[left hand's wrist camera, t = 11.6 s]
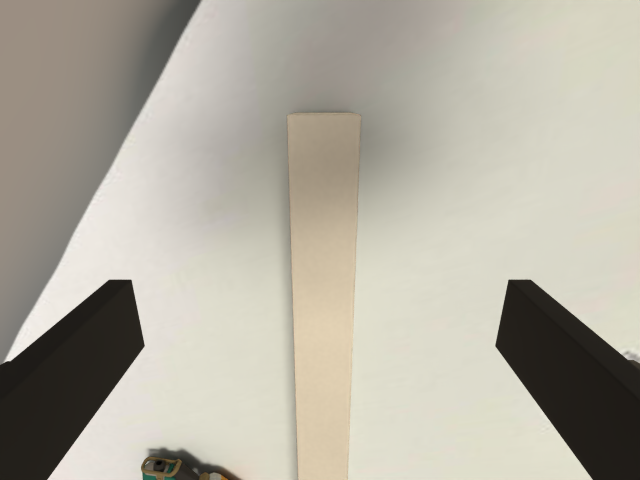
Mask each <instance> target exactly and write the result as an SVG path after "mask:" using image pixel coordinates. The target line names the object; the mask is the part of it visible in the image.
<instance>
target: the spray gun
mask: <svg viewBox="0 0 640 480" xmlns="http://www.w3.org/2000/svg"><path fill="white" fill-rule="evenodd" d="M149 460H153V461H155V463H153V462H151V463H148V464H146V463H147V461H149ZM169 463H171V464H170V466H169ZM145 464H146V465H145ZM174 464H176V465H175V466H174ZM141 470H142V472H143V480H228V479H226V478H225V477H223V476H222V475H220V474H219V473H215V472H213V473H211V474H208V473H206V472H204V473H202V474H201V475H200V476H198V475H197V474H196V473H195V472H194V471H193V470H191V469H190V468H189V467H187V466H186V465H185V464H184V463H182V461H181V460H180V459H177V460H170V459H164V458H158V457H148V458H146V459H145V460H144V462H143V464H142V466H141Z"/></svg>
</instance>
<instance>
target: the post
mask: <svg viewBox="0 0 640 480" xmlns="http://www.w3.org/2000/svg"><path fill="white" fill-rule="evenodd" d="M360 126H361V115H359V114H354V113H292V114H289V115H287V133H288V166H289V198H290V231H291V264H292V296H293V329H294V361H295V394H296V427H297V459H298V480H348V454H349V427H350V400H351V372H352V345H353V318H354V290H355V263H356V236H357V208H358V181H359V154H360Z"/></svg>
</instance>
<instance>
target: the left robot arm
mask: <svg viewBox="0 0 640 480" xmlns="http://www.w3.org/2000/svg"><path fill="white" fill-rule="evenodd" d="M144 346H145V345H144V340H143V335H142V330H141V325H140V320H139V315H138V310H137V305H136V300H135V295H134V290H133V285H132V280H108V281H107V282H106V283H105V284H104V285H102V286H101V287H100V288H99V289H98V290H96V291H95V292H94V293H93V294H91V295H90V296H89V297H88V298H87V299H85V300H84V301H83V302H82V303H81V304H79V305H78V306H77V307H76V308H75V309H73V310H72V311H71V312H70V313H68V314H67V315H66V316H65V317H64V318H62V319H61V320H60V321H59V322H58V323H56V324H55V325H54V326H53V327H52V328H50V329H49V330H48V331H47V332H45V333H44V334H43V335H42V336H41V337H39V338H38V339H37V340H36V341H35V342H33V343H32V344H31V345H30V346H29V347H27V348H26V349H25V350H24V351H22V352H21V353H20V354H19V355H18V356H16V357H15V358H14V359H13V360H12V361H7V362H5V363H3V364H1V365H0V480H47V479H48V478H49V476H50V475H51V474H52V472H53V471H54V470H55V468H56V467H57V465H58V464H59V463H60V461H61V460H62V459H63V457H64V456H65V455H66V453H67V452H68V450H69V449H70V448H71V446H72V445H73V444H74V442H75V441H76V439H77V438H78V437H79V435H80V434H81V433H82V431H83V430H84V428H85V427H86V426H87V424H88V423H89V422H90V420H91V419H92V418H93V416H94V415H95V413H96V412H97V411H98V409H99V408H100V407H101V405H102V404H103V402H104V401H105V400H106V398H107V397H108V396H109V394H110V393H111V391H112V390H113V389H114V387H115V386H116V385H117V383H118V382H119V381H120V379H121V378H122V376H123V375H124V374H125V372H126V371H127V370H128V368H129V367H130V365H131V364H132V363H133V361H134V360H135V359H136V357H137V356H138V354H139V353H140V352H141V350H142V349H143V348H144ZM495 346H496V348H497V349H498V350H499V352H500V353H501V354H502V356H503V357H504V359H505V360H506V361H507V363H508V364H509V365H510V367H511V368H512V370H513V371H514V372H515V374H516V375H517V376H518V378H519V379H520V381H521V382H522V383H523V385H524V386H525V387H526V389H527V390H528V391H529V393H530V394H531V396H532V397H533V398H534V400H535V401H536V402H537V404H538V405H539V407H540V408H541V409H542V411H543V412H544V413H545V415H546V416H547V418H548V419H549V420H550V422H551V423H552V424H553V426H554V427H555V428H556V430H557V431H558V433H559V434H560V435H561V437H562V438H563V439H564V441H565V442H566V444H567V445H568V446H569V448H570V449H571V450H572V452H573V453H574V455H575V456H576V457H577V459H578V460H579V461H580V463H581V464H582V465H583V467H584V468H585V470H586V471H587V472H588V474H589V475H590V476H591V478H592V479H593V480H640V363H638V362H636V361H634V360H627V359H626V358H625V357H624V356H622V355H621V354H620V353H619V352H618V351H616V350H615V349H614V348H613V347H611V346H610V345H609V344H608V343H607V342H605V341H604V340H603V339H602V338H601V337H599V336H598V335H597V334H596V333H595V332H593V331H592V330H591V329H590V328H588V327H587V326H586V325H585V324H584V323H582V322H581V321H580V320H579V319H578V318H576V317H575V316H574V315H573V314H572V313H570V312H569V311H568V310H567V309H565V308H564V307H563V306H562V305H561V304H559V303H558V302H557V301H556V300H555V299H553V298H552V297H551V296H550V295H549V294H547V293H546V292H545V291H544V290H542V289H541V288H540V287H539V286H538V285H536V284H535V283H534V282H533V281H532V280H508V285H507V290H506V295H505V300H504V305H503V310H502V315H501V320H500V325H499V330H498V335H497V340H496V345H495Z"/></svg>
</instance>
